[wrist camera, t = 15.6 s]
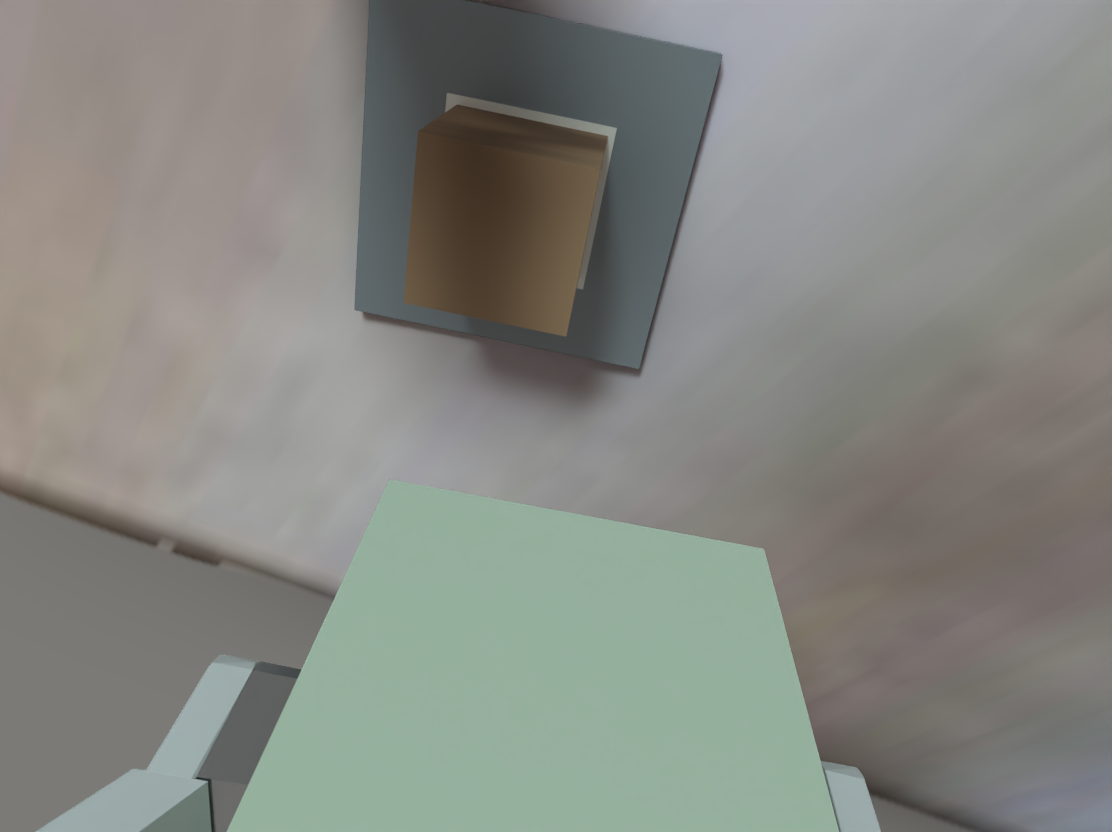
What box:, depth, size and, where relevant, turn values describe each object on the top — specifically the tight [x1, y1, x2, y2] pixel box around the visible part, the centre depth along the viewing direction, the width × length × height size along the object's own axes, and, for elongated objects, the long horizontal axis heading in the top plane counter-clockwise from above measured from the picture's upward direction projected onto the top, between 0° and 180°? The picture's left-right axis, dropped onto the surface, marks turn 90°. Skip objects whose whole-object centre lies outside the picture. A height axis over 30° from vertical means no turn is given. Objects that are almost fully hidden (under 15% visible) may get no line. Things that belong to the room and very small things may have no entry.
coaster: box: [355, 0, 722, 369], centre depth 26 cm, size 11×11×1 cm
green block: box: [227, 480, 839, 832], centre depth 9 cm, size 5×5×5 cm
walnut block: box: [404, 104, 608, 337], centre depth 24 cm, size 5×5×5 cm
